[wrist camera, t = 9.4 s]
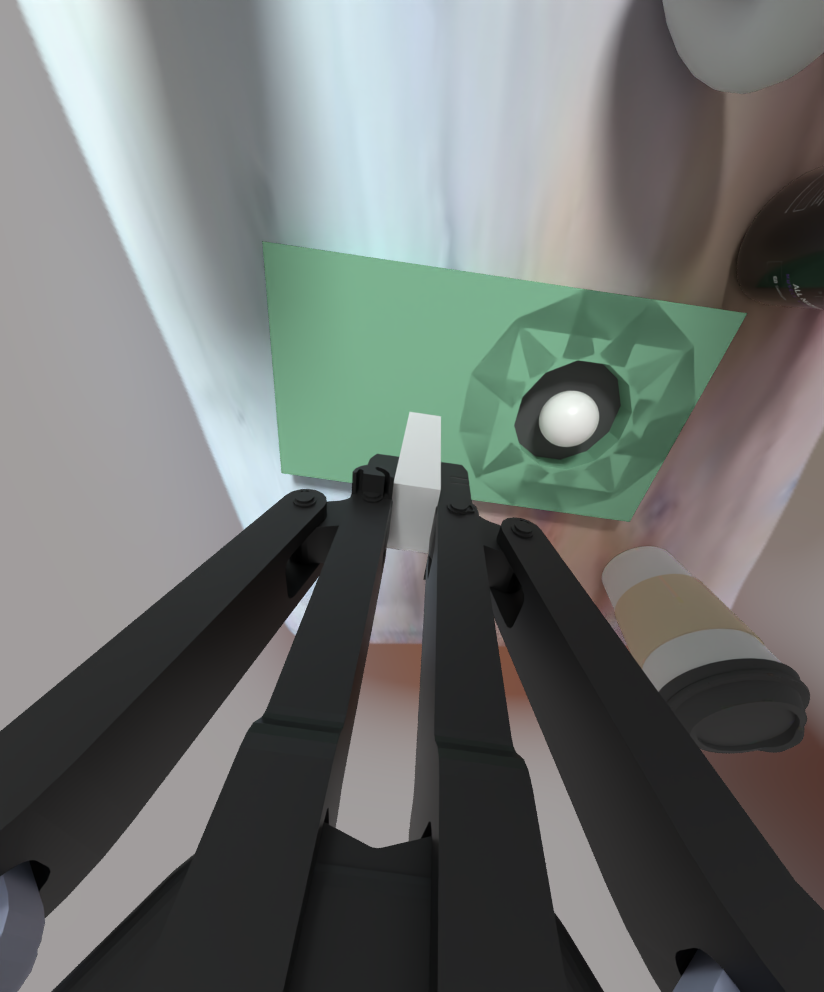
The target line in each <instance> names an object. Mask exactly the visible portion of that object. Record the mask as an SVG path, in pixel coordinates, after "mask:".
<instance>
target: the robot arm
mask: <svg viewBox="0 0 824 992" xmlns="http://www.w3.org/2000/svg"><path fill="white" fill-rule="evenodd" d="M386 548H391V549H398V550H405V551H412V552H419V553H426V554H428V551H429V555H428V559H427V564H426V569H425V574H424V580H426V584H425V602H424V621H423V639H422V657H421V658H422V659H421V675H420V676H421V677H420V694H419V712H418V731H417V749H416V766H415V785H414V798H413V805H412V813H411V820H410V829H409V842H405V843H400V844H396V845H392V846H388V847H383V848H372V847H370V846H368V845H366V844H364V843H362V842H360V841H359V840H357V839H355V838H353V837H351V836H349V835H347V834H345V833H344V832H342V831H340V830H338V829H336V828H335V827H336V822H337V815H338V809H339V803H340V796H341V789H342V783H343V778H344V772H345V767H346V762H347V756H348V751H349V746H350V740H351V736H352V730H353V725H354V719H355V715H356V709H357V704H358V699H359V693H360V688H361V683H362V678H363V673H364V667H365V662H366V657H367V651H368V646H369V641H370V636H371V631H372V626H373V620H374V615H375V610H376V605H377V599H378V594H379V589H380V584H381V578H382V573H383V568H384V563H385V557H386ZM318 577H319V578H318ZM317 578H318V580H317ZM316 580H317V583H316V586H315V588H314V591H313V593H312V596H311V598H310V601H309V603H308V606H307V608H306V611H305V613H304V616H303V618H302V621H301V623H300V626H299V629H298V631H297V634H296V636H295V639H294V641H293V644H292V647H291V649H290V651H289V654H288V656H287V659H286V661H285V664H284V667H283V669H282V672H281V674H280V677H279V679H278V682H277V684H276V687H275V689H274V692H273V695H272V697H271V699H270V702H269V704H268V707H267V709H266V711H265V713H264V714H263V716H262V717H261V718H260V719H258V720H257V721H255V722H254V723H253V724H252V725H251V727H250V728H249V730H248V732H247V733H246V735H245V737H244V739H243V742H242V743H241V746H240V748H239V751H238V752H237V755H236V758H235V760H234V762H233V764H232V767H231V769H230V771H229V774H228V776H227V779H226V781H225V783H224V786H223V788H222V791H221V793H220V795H219V798H218V800H217V802H216V805H215V807H214V810H213V812H212V814H211V817H210V819H209V821H208V824H207V826H206V829H205V831H204V833H203V836H202V838H201V841H200V843H199V845H198V848H197V850H196V853H195V854H194V855H193V856H191V857H190V858H189V859H188V860H187V861H185V862H184V863H183V864H182V865H181V866H179V867H178V868H177V869H176V870H174V871H173V872H172V873H171V874H170V875H169V876H168V877H167V878H166V879H165V880H164V881H163V882H162V883H161V884H160V885H159V886H158V887H157V888H156V889H155V890H154V891H153V892H152V893H151V894H150V895H149V896H148V897H147V898H146V899H145V900H144V901H143V902H142V903H141V904H140V905H139V906H138V907H137V908H136V909H135V910H133V912H131V914H129V915H128V917H127V918H125V919H124V921H122V922H121V923H120V924H119V925H118V926H117V927H116V928H115V929H114V930H113V931H112V932H111V933H110V934H109V935H108V936H107V937H106V938H105V939H104V940H103V941H102V942H101V943H100V944H99V945H98V946H97V947H96V948H95V949H94V950H93V951H92V952H91V953H90V954H89V955H88V956H87V957H86V958H85V959H84V960H83V961H82V962H81V963H80V964H79V965H78V966H77V967H76V968H75V969H74V970H73V971H72V972H71V973H70V974H69V975H68V976H67V977H66V978H65V979H64V980H63V981H62V982H61V983H60V984H59V985H58V986H57V987H56V988H55V989H53V991H52V992H604V991H603V989H602V988H601V986H600V984H599V983H598V981H597V980H596V978H595V976H594V975H593V973H592V971H591V970H590V968H589V966H588V965H587V963H586V961H585V960H584V958H583V956H582V955H581V953H580V951H579V950H578V948H577V946H576V945H575V943H574V941H573V940H572V938H571V936H570V935H569V933H568V932H567V930H566V928H565V927H564V925H563V924H562V922H561V921H560V919H559V918H558V917H557V916H556V914H555V913H554V910H553V904H552V899H551V892H550V887H549V881H548V875H547V869H546V863H545V858H544V852H543V847H542V841H541V834H540V829H539V823H538V817H537V811H536V806H535V800H534V794H533V788H532V784H531V779H530V776H529V771H528V768H527V766H526V764H525V761H524V759H523V758H522V757H521V756H520V755H518V754H517V753H516V751H515V749H514V747H513V742H512V738H511V731H510V724H509V718H508V711H507V704H506V697H505V690H504V683H503V677H502V670H501V663H500V656H499V649H498V642H497V636H496V629H495V622H494V618H495V621H496V623H497V625H498V628H499V630H500V633H501V635H502V637H503V640H504V642H505V645H506V647H507V649H508V652H509V654H510V656H511V659H512V661H513V663H514V666H515V668H516V671H517V673H518V675H519V678H520V680H521V682H522V685H523V687H524V690H525V692H526V695H527V697H528V699H529V702H530V704H531V706H532V709H533V711H534V713H535V716H536V718H537V721H538V723H539V725H540V728H541V730H542V732H543V735H544V737H545V740H546V742H547V745H548V747H549V749H550V752H551V754H552V756H553V759H554V761H555V764H556V766H557V768H558V770H559V773H560V775H561V778H562V780H563V783H564V785H565V787H566V790H567V792H568V795H569V797H570V799H571V801H572V804H573V806H574V809H575V811H576V814H577V816H578V818H579V821H580V823H581V826H582V828H583V830H584V833H585V835H586V837H587V839H588V842H589V844H590V847H591V849H592V852H593V854H594V856H595V859H596V861H597V864H598V866H599V868H600V871H601V873H602V876H603V878H604V880H605V883H606V885H607V887H608V889H609V892H610V894H611V896H612V898H613V900H614V902H615V905H616V907H617V909H618V911H619V913H620V916H621V918H622V920H623V922H624V924H625V926H626V929H627V930H628V932H629V934H630V936H631V938H632V940H633V942H634V944H635V946H636V947H637V949H638V951H639V953H640V954H641V957H642V959H643V961H644V962H645V964H646V966H647V968H648V970H649V972H650V973H651V975H652V977H653V979H654V980H655V982H656V984H657V985H658V987H659V989H660V990H661V992H824V910H823V909H822V908H821V907H820V906H819V905H818V904H817V903H816V902H815V901H814V900H813V899H812V898H811V897H810V896H809V895H808V894H807V893H806V891H804V890H803V888H802V887H801V886H800V885H799V884H798V883H797V882H796V881H795V880H794V878H793V877H792V876H791V874H790V873H789V871H788V870H787V869H786V867H785V866H784V865H783V863H782V862H781V861H780V859H779V858H778V856H777V855H776V854H775V852H774V851H773V849H772V848H771V847H770V846H769V844H768V842H767V841H766V840H765V838H764V837H763V836H762V834H761V833H760V832H759V830H758V829H757V827H756V826H755V825H754V823H753V822H752V821H751V819H750V818H749V816H748V815H747V813H746V812H745V811H744V809H743V808H742V807H741V805H740V804H739V802H738V801H737V800H736V798H735V797H734V796H733V794H732V793H731V791H730V790H729V789H728V787H727V786H726V785H725V783H724V782H723V780H722V779H721V778H720V776H719V775H718V774H717V772H716V771H715V769H714V768H713V767H712V765H711V764H710V763H709V761H708V760H707V758H706V757H705V755H704V754H703V753H702V751H701V750H700V749H699V747H698V746H697V744H696V743H695V742H694V740H693V739H692V738H691V736H690V735H689V733H688V732H687V731H686V729H685V728H684V727H683V725H682V724H681V722H680V721H679V720H678V718H677V717H676V715H675V714H674V713H673V711H672V710H671V709H670V707H669V706H668V704H667V703H666V702H665V700H664V699H663V698H662V696H661V695H660V693H659V692H658V691H657V689H656V688H655V686H654V685H653V684H652V682H651V681H650V680H649V678H648V677H647V675H646V674H645V673H644V671H643V670H642V669H641V667H640V666H639V664H638V663H637V662H636V660H635V659H634V657H633V656H632V655H631V653H630V652H629V651H628V649H627V648H626V646H625V645H624V644H623V642H622V641H621V640H620V638H619V637H618V635H617V634H616V633H615V631H614V630H613V628H612V627H611V626H610V624H609V623H608V622H607V620H606V619H605V617H604V616H603V615H602V613H601V612H600V611H599V609H598V608H597V606H596V605H595V604H594V602H593V601H592V599H591V598H590V597H589V595H588V594H587V593H586V591H585V590H584V588H583V587H582V586H581V584H580V583H579V582H578V580H577V579H576V577H575V576H574V575H573V573H572V572H571V570H570V569H569V568H568V566H567V565H566V564H565V562H564V561H563V559H562V558H561V557H560V555H559V554H558V553H557V551H556V550H555V548H554V547H553V546H552V544H551V543H550V541H549V540H548V539H547V537H546V536H545V535H544V533H543V532H542V530H541V529H540V528H539V527H538V526H537V525H535V524H533V523H532V522H530V521H528V520H525V519H522V518H514V517H513V518H507V519H505V520H504V521H502V524H501V526H500V525H498V524H495V523H492V522H489V521H487V520H485V519H483V518H482V517H480V516H479V513H478V510H477V508H476V506H475V505H473V504H472V500H471V492H470V486H469V477H468V471H467V470H466V469H465V468H464V467H463V465H459V464H452V463H446V462H441V416H436V415H429V414H422V413H415V412H409V417H408V421H407V426H406V430H405V434H404V439H403V443H402V448H401V452H400V457H397V456H391V455H384V454H376V455H374V456H373V457H372V458H370V460H369V462H368V465H363V466H360V467H357V468H356V469H355V470H354V471H353V472H352V494H351V497H350V498H348V499H345V500H341V501H329V502H327V501H326V497H325V496H324V494H323V493H321V492H319V491H316V490H311V489H300V490H296V491H292V492H290V493H289V494H287V495H286V496H284V497H283V498H282V499H281V500H279V501H278V502H277V503H276V504H275V505H273V506H272V507H271V508H270V509H269V510H267V511H266V512H265V513H264V514H263V515H261V516H260V517H259V518H258V519H256V520H255V521H254V522H253V523H252V524H250V525H249V526H248V527H247V528H246V529H244V530H243V531H242V532H241V533H240V534H239V535H237V536H236V537H235V538H234V539H232V540H231V541H230V542H229V543H227V544H226V545H225V546H224V547H223V548H221V549H220V550H219V551H218V552H217V553H216V554H214V555H213V556H212V557H211V558H209V559H208V560H207V561H206V562H204V563H203V564H202V565H201V566H200V567H198V568H197V569H196V570H195V571H194V572H192V573H191V574H190V575H189V576H188V577H186V578H185V579H184V580H183V581H182V582H180V583H179V584H178V585H177V586H175V587H174V588H173V589H172V590H171V591H169V592H168V593H167V594H166V595H165V596H163V597H162V598H161V599H160V600H159V601H157V602H156V603H155V604H154V605H152V606H151V607H150V608H149V609H148V610H147V611H145V612H144V613H143V614H142V615H140V616H139V617H138V618H137V619H136V620H134V621H133V622H132V623H131V624H130V625H128V626H127V627H126V628H125V629H123V630H122V631H121V632H120V633H119V634H117V635H116V636H115V637H114V638H113V639H111V640H110V641H109V642H108V643H107V644H105V645H104V646H103V647H102V648H100V649H99V650H98V651H97V652H96V653H94V654H93V655H92V656H91V657H90V658H88V659H87V660H86V661H85V662H84V663H82V664H81V665H80V666H79V667H77V668H76V669H75V670H74V671H73V672H71V673H70V674H69V675H68V676H67V677H65V678H64V679H63V680H62V681H61V682H59V683H58V684H57V685H56V686H55V687H53V688H52V689H51V690H50V691H48V692H47V693H46V694H45V695H44V696H42V697H41V698H40V699H39V700H38V701H36V702H35V703H34V704H33V705H32V706H30V707H29V708H28V709H27V710H25V712H23V713H22V714H21V715H19V716H18V717H17V718H16V719H15V720H13V721H12V722H11V723H10V724H9V725H7V726H6V727H5V728H4V729H3V730H1V731H0V992H17V991H18V990H19V989H20V988H21V986H22V985H23V983H24V981H25V980H26V978H27V977H28V976H29V974H30V973H31V971H32V968H33V965H34V963H35V960H36V957H37V950H38V948H39V945H40V943H41V939H42V934H43V929H44V924H45V918H46V917H47V916H48V915H49V914H50V913H51V912H52V911H53V910H54V909H55V908H56V907H57V906H58V905H59V904H60V903H61V902H62V901H63V900H64V899H66V897H67V896H68V895H69V894H70V893H71V892H72V891H73V890H74V889H75V887H77V886H78V884H79V883H80V882H81V881H82V880H83V879H84V878H85V877H86V876H87V875H88V874H89V873H90V871H91V870H92V869H93V868H94V867H95V866H96V865H97V864H98V863H99V862H100V861H101V859H102V858H103V857H104V856H105V855H106V853H107V852H108V851H109V850H110V849H111V847H112V846H113V845H114V844H115V842H116V841H117V840H118V839H119V838H120V836H121V835H122V834H123V833H124V831H125V830H126V829H127V827H129V825H130V824H131V823H132V822H133V820H134V819H135V818H136V816H137V815H138V814H139V812H140V811H141V810H142V808H143V807H144V806H145V805H146V803H147V802H148V800H149V799H150V798H151V797H152V795H153V794H154V793H155V791H156V790H157V788H158V787H159V786H160V785H161V783H162V782H163V781H164V780H165V778H166V777H167V776H168V774H169V773H170V772H171V770H172V769H173V768H174V766H175V765H176V764H177V762H178V761H179V760H180V758H181V757H182V756H183V754H184V753H185V752H186V751H187V749H188V748H189V747H190V745H191V744H192V743H193V741H194V740H195V739H196V737H197V736H198V735H199V733H200V732H201V731H202V730H203V728H204V727H205V725H206V724H207V723H208V722H209V720H210V719H211V718H212V716H213V715H214V714H215V712H216V711H217V710H218V708H219V707H220V706H221V705H222V703H223V702H224V700H225V699H226V698H227V697H228V695H229V694H230V693H231V691H232V690H233V689H234V687H235V686H236V684H237V683H238V682H239V681H240V679H241V678H242V677H243V675H244V674H245V673H246V672H247V670H248V669H249V668H250V666H251V665H252V664H253V662H254V661H255V660H256V658H257V657H258V656H259V655H260V653H261V652H262V651H263V649H264V648H265V647H266V645H267V644H268V643H269V641H270V640H271V639H272V637H273V636H274V635H275V633H276V632H277V631H278V629H279V628H280V627H281V626H282V624H283V623H284V622H285V620H286V619H287V618H288V616H289V615H290V614H291V612H292V611H293V610H294V608H295V607H296V606H297V605H298V603H299V602H300V601H301V599H302V598H303V597H304V595H305V594H306V593H307V591H308V590H309V589H310V587H311V586H312V585H313V583H314V582H315V581H316Z"/></svg>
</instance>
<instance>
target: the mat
mask: <svg viewBox="0 0 824 992" xmlns="http://www.w3.org/2000/svg"><path fill="white" fill-rule="evenodd" d="M262 244H263V256H264V268H265V280H266V292H267V304H268V316H269V328H270V340H271V352H272V364H273V376H274V388H275V400H276V412H277V424H278V436H279V448H280V461H281V473H284V474H291V475H298V476H306V477H313V478H320V479H327V480H334V481H341V482H348V483H352V472H353V471H354V470H355V469H356V468H357V467H360V466H363V465H368V462H369V460H370V458H372V457H373V456H374V455H376V454H384V455H391V456H397V457H400V452H401V448H402V443H403V439H404V434H405V430H406V426H407V421H408V417H409V412H415V413H422V414H429V415H436V416H441V462H446V463H452V464H459V465H463V467H464V468H465V469H466V470H467V471H468V477H469V486H470V492H471V500H477V501H484V502H491V503H498V504H505V505H513V506H520V507H527V508H534V509H541V510H548V511H555V512H563V513H570V514H577V515H584V516H591V517H598V518H605V519H613V520H620V521H627V522H630V520H631V518H632V517H633V515H634V513H635V511H636V510H637V508H638V506H639V504H640V502H641V501H642V499H643V497H644V495H645V494H646V492H647V490H648V488H649V487H650V485H651V483H652V481H653V479H654V478H655V476H656V474H657V472H658V471H659V469H660V467H661V465H662V464H663V462H664V460H665V458H666V456H667V455H668V453H669V451H670V449H671V448H672V446H673V444H674V442H675V441H676V439H677V437H678V435H679V433H680V432H681V430H682V428H683V426H684V425H685V423H686V421H687V419H688V417H689V416H690V414H691V412H692V410H693V409H694V407H695V405H696V403H697V402H698V400H699V398H700V396H701V394H702V393H703V391H704V389H705V387H706V386H707V384H708V382H709V380H710V379H711V377H712V375H713V373H714V371H715V370H716V368H717V366H718V364H719V363H720V361H721V359H722V357H723V356H724V354H725V352H726V350H727V348H728V347H729V345H730V343H731V341H732V340H733V338H734V336H735V334H736V332H737V331H738V329H739V327H740V325H741V324H742V322H743V320H744V318H745V317H746V315H747V313H742V312H735V311H728V310H721V309H715V308H708V307H701V306H694V305H688V304H681V303H674V302H667V301H661V300H654V299H647V298H641V297H634V296H627V295H620V294H614V293H607V292H600V291H593V290H587V289H580V288H573V287H566V286H560V285H553V284H546V283H539V282H533V281H526V280H519V279H513V278H506V277H499V276H492V275H486V274H479V273H472V272H465V271H459V270H452V269H445V268H438V267H432V266H425V265H418V264H411V263H405V262H398V261H391V260H385V259H378V258H371V257H364V256H358V255H351V254H344V253H337V252H331V251H324V250H317V249H310V248H304V247H297V246H290V245H283V244H277V243H270V242H263V241H262ZM564 391H579V392H582V393H585V394H587V395H588V396H590V397H591V398H592V399H593V400H594V402H595V403H596V405H597V407H598V411H599V422H598V426H597V428H596V430H595V432H594V433H593V434H592V436H591V437H590V438H589V439H587V440H586V441H585V442H583V443H581V444H579V445H576V446H572V447H561V446H557V445H554V444H552V443H551V442H549V441H548V440H547V439H546V438H545V437H544V436H543V434H542V433H541V430H540V427H539V415H540V412H541V410H542V408H543V406H544V405H545V403H546V402H547V401H548V400H549V399H550V398H551V397H553V396H554V395H556V394H558V393H561V392H564Z"/></svg>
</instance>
